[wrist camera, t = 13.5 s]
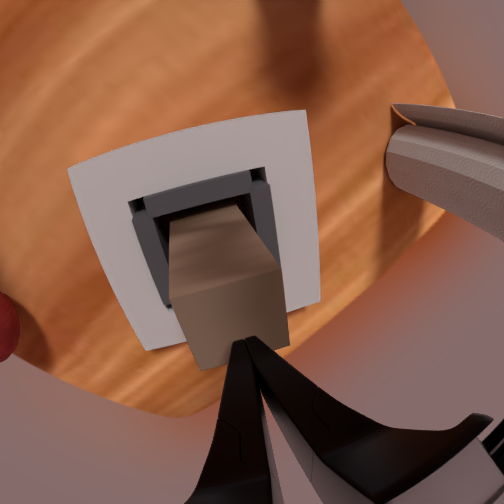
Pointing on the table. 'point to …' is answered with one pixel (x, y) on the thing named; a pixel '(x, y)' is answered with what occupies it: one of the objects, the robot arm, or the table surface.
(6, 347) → the onion
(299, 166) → the collar block
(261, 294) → the walnut peg
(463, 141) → the paper towel roll
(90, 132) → the table surface
